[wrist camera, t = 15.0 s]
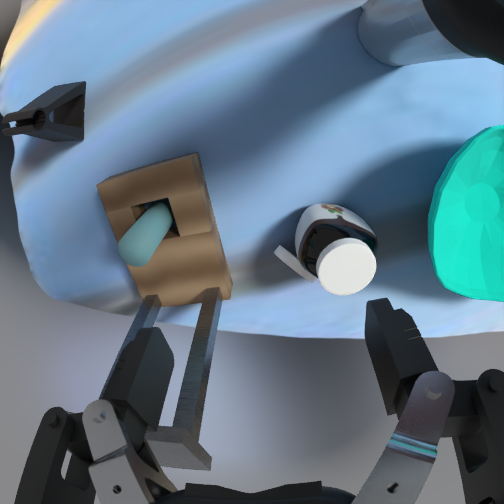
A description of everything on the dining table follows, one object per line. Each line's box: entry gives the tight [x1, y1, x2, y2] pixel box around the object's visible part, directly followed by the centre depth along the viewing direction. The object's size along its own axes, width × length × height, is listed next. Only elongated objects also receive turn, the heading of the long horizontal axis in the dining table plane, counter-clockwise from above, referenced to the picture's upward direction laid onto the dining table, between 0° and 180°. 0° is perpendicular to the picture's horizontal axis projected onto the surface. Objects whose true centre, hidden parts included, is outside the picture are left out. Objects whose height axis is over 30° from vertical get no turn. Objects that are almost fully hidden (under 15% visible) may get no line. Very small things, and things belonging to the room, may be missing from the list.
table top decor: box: [428, 125, 504, 302], centre depth 32 cm, size 40×28×13 cm
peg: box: [118, 198, 175, 267], centre depth 35 cm, size 4×4×12 cm
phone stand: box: [2, 81, 86, 142], centre depth 28 cm, size 9×6×12 cm, turn 172°
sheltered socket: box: [66, 152, 233, 471], centre depth 30 cm, size 22×14×30 cm, turn 11°
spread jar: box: [274, 203, 378, 295], centre depth 37 cm, size 12×11×12 cm
